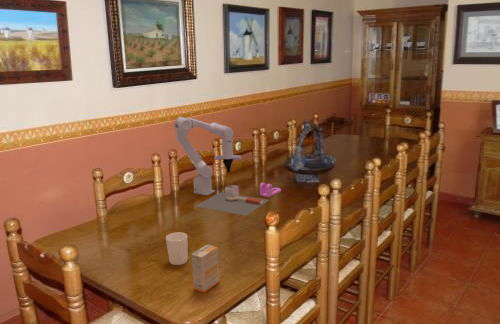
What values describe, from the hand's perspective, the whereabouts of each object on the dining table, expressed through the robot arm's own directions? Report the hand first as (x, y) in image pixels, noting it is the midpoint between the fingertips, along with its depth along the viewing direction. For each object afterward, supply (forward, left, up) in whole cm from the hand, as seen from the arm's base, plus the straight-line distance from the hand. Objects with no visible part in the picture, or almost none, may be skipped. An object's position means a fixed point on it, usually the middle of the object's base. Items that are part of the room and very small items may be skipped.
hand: (228, 172), depth 250 cm
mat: (+15, -21, -9) cm, 27 cm away
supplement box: (+50, -93, -10) cm, 106 cm away
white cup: (+30, -83, -10) cm, 89 cm away
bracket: (+26, +2, -10) cm, 28 cm away
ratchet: (+19, -16, -9) cm, 27 cm away
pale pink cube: (+12, -16, -7) cm, 21 cm away
